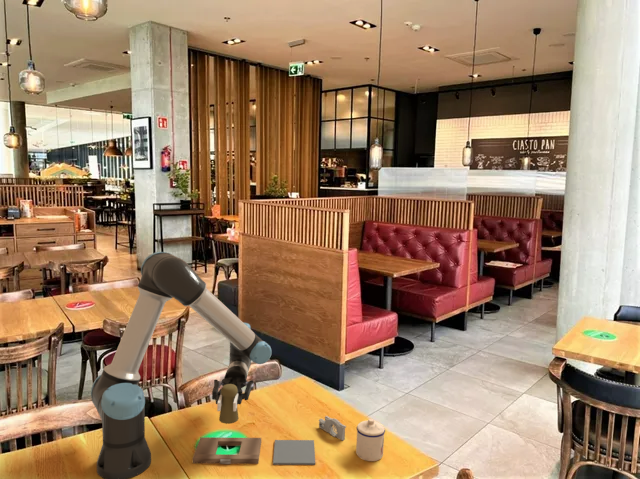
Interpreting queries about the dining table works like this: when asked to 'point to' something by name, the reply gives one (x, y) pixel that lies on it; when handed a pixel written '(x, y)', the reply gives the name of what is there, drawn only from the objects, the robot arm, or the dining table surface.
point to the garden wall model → (333, 423)
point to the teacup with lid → (370, 440)
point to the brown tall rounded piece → (228, 404)
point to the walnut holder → (208, 455)
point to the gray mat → (294, 452)
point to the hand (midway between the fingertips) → (226, 406)
